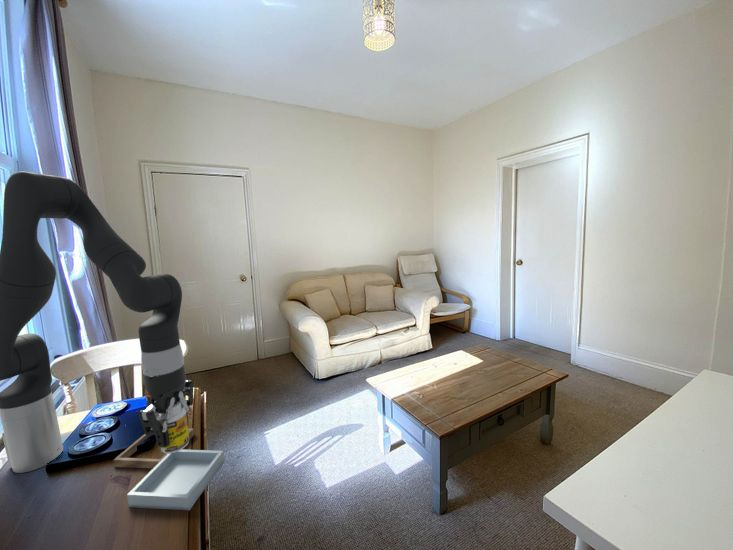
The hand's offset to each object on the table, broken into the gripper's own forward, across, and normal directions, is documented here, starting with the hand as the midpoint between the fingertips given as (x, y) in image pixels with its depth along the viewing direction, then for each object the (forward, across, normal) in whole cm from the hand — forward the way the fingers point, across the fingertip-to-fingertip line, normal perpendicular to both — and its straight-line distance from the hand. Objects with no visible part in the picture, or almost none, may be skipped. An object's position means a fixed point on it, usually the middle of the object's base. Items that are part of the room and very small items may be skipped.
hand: (174, 436), depth 70 cm
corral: (+12, -10, -14) cm, 21 cm away
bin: (+12, 0, 0) cm, 12 cm away
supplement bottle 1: (+12, -26, -26) cm, 39 cm away
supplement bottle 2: (+3, 0, 0) cm, 3 cm away
